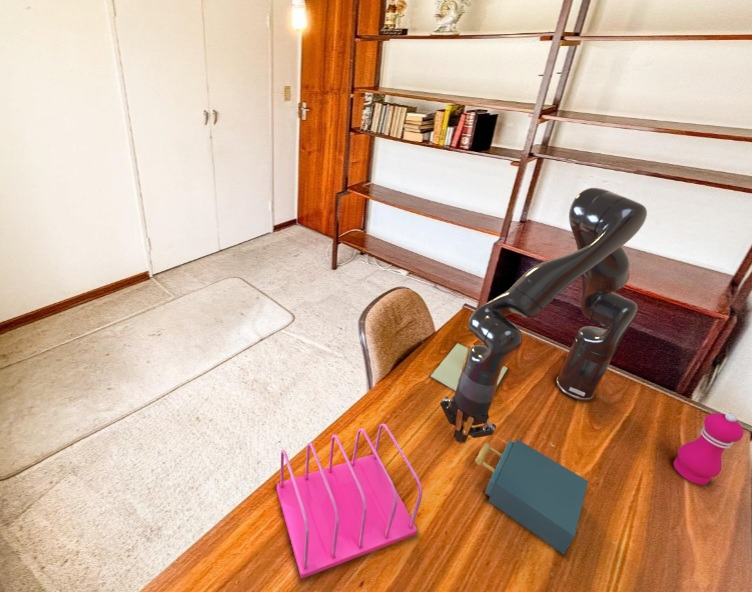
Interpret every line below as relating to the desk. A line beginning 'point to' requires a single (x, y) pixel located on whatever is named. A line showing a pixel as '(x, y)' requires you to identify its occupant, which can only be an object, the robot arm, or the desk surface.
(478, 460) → the drawer
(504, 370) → the mat
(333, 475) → the file sorter
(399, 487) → the desk surface
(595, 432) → the desk surface
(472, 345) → the block
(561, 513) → the cabinet
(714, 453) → the pepper mill
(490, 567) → the desk surface
